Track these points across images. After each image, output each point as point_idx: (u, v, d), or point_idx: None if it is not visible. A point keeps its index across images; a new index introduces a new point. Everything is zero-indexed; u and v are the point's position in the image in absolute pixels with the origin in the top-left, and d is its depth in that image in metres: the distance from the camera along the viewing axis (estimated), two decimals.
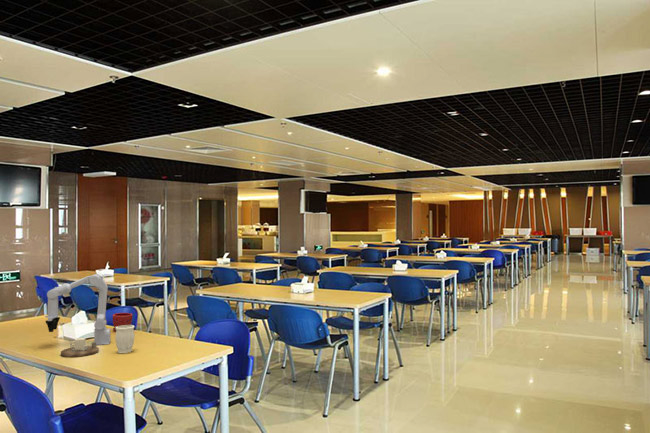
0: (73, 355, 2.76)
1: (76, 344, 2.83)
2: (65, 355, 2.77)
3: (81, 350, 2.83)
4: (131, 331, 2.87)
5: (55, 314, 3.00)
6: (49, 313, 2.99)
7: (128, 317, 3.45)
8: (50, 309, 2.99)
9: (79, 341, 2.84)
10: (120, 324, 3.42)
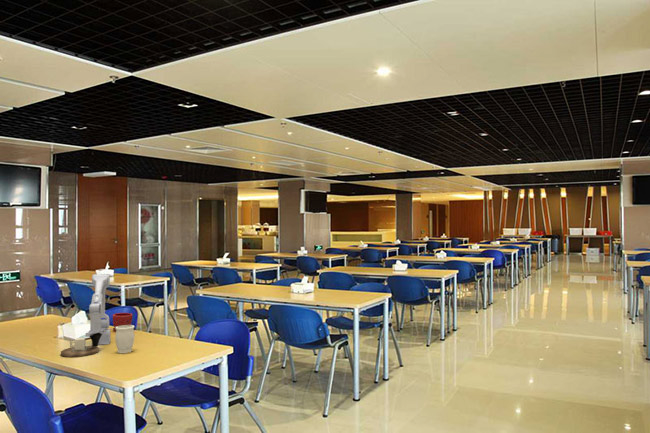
0: (73, 355, 2.76)
1: (76, 344, 2.83)
2: (65, 355, 2.77)
3: (81, 350, 2.83)
4: (131, 331, 2.87)
5: (96, 329, 2.88)
6: (90, 328, 2.89)
7: (128, 317, 3.45)
8: (91, 324, 2.88)
9: (79, 341, 2.84)
10: (120, 324, 3.42)
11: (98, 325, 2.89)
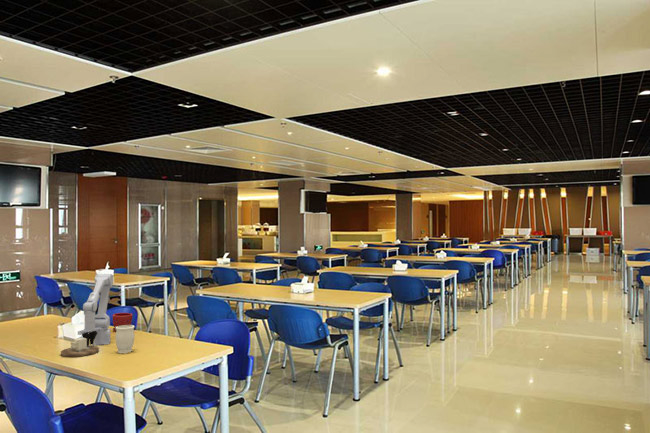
0: (87, 353, 2.80)
1: (80, 344, 2.84)
2: (78, 355, 2.77)
3: (86, 349, 2.86)
4: (131, 331, 2.87)
5: (88, 328, 2.91)
6: None
7: (128, 317, 3.45)
8: None
9: (82, 341, 2.85)
10: (120, 324, 3.42)
11: (91, 324, 2.92)
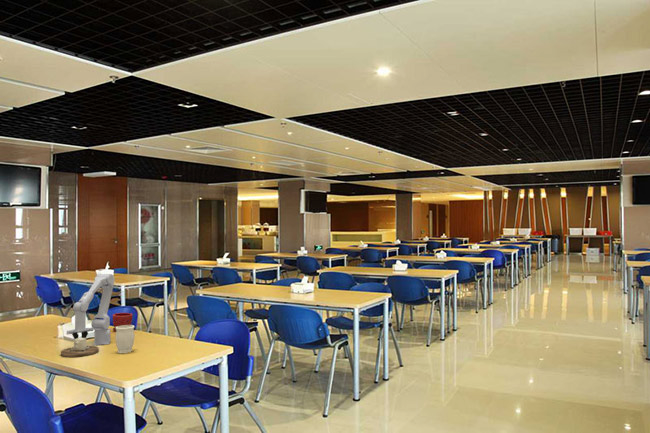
0: (95, 351, 2.85)
1: (83, 343, 2.85)
2: (88, 354, 2.80)
3: (87, 348, 2.88)
4: (131, 331, 2.87)
5: (77, 328, 2.91)
6: None
7: (128, 317, 3.45)
8: (75, 322, 2.92)
9: (84, 340, 2.86)
10: (120, 324, 3.42)
11: (80, 324, 2.91)
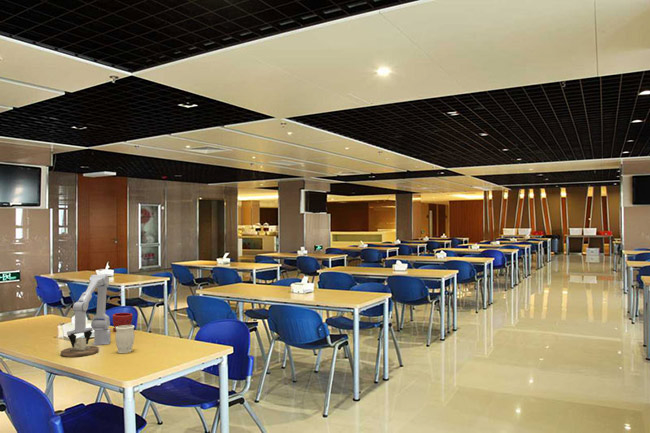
0: (95, 351, 2.84)
1: (82, 343, 2.85)
2: (87, 354, 2.80)
3: (87, 348, 2.88)
4: (131, 331, 2.87)
5: (78, 329, 2.84)
6: None
7: (128, 317, 3.45)
8: (75, 323, 2.85)
9: (84, 340, 2.86)
10: (120, 324, 3.42)
11: (81, 324, 2.84)
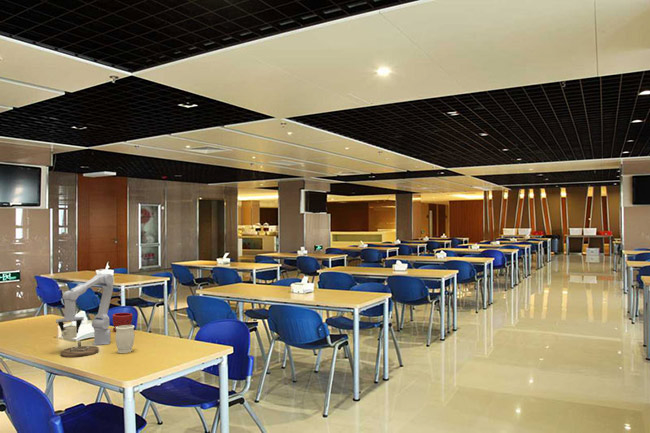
0: (95, 351, 2.84)
1: (70, 332, 2.88)
2: (87, 354, 2.80)
3: (87, 348, 2.88)
4: (131, 331, 2.87)
5: (66, 317, 2.88)
6: None
7: (128, 317, 3.45)
8: None
9: (73, 329, 2.89)
10: (120, 324, 3.42)
11: (69, 313, 2.88)
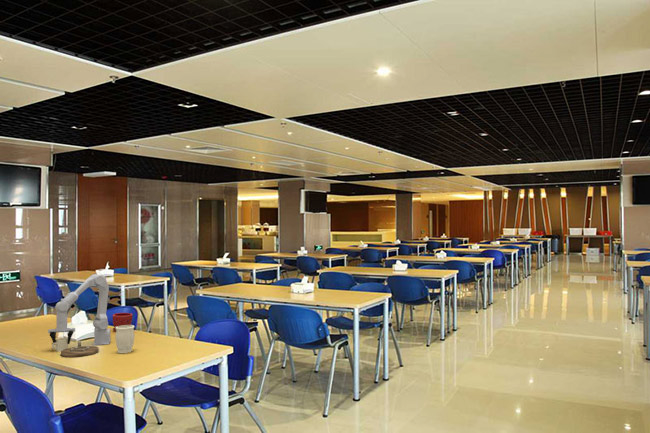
0: (95, 351, 2.84)
1: (60, 344, 2.90)
2: (87, 354, 2.80)
3: (87, 348, 2.88)
4: (131, 331, 2.87)
5: (57, 328, 2.91)
6: None
7: (128, 317, 3.45)
8: None
9: (63, 341, 2.91)
10: (120, 324, 3.42)
11: (59, 324, 2.91)
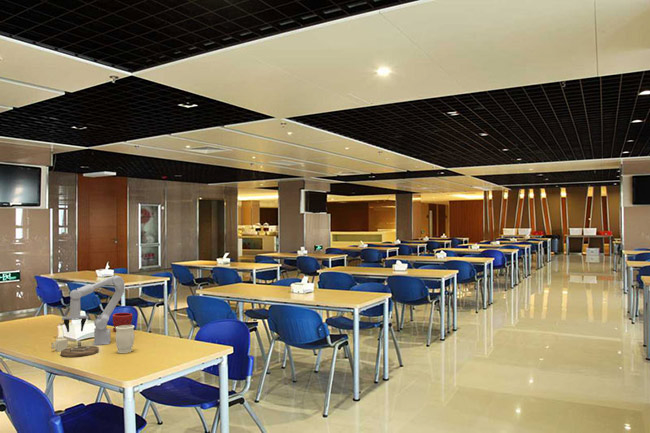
0: (95, 351, 2.84)
1: (60, 344, 2.90)
2: (87, 354, 2.80)
3: (87, 348, 2.88)
4: (131, 331, 2.87)
5: (70, 315, 3.00)
6: None
7: (128, 317, 3.45)
8: None
9: (63, 341, 2.91)
10: (120, 324, 3.42)
11: (72, 311, 2.99)
